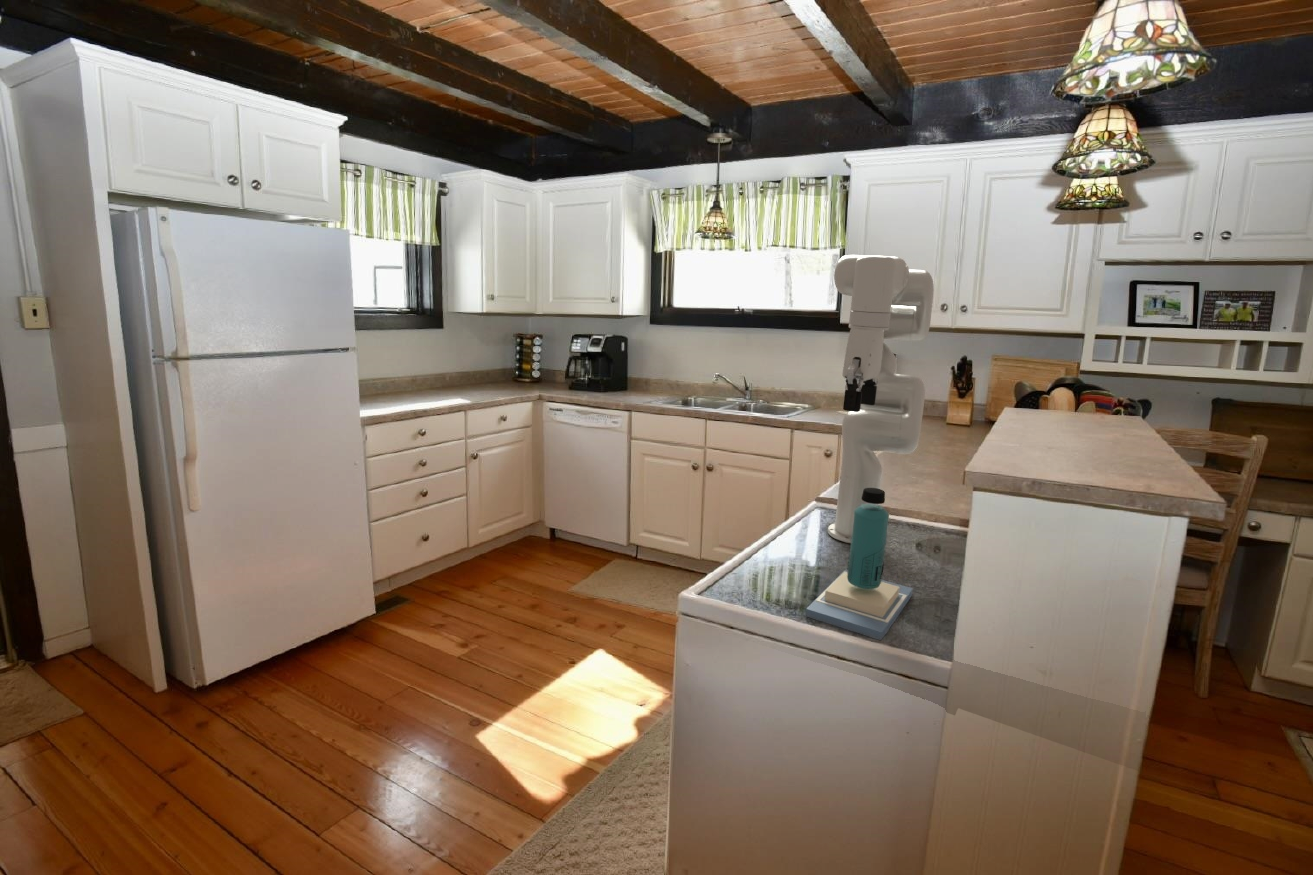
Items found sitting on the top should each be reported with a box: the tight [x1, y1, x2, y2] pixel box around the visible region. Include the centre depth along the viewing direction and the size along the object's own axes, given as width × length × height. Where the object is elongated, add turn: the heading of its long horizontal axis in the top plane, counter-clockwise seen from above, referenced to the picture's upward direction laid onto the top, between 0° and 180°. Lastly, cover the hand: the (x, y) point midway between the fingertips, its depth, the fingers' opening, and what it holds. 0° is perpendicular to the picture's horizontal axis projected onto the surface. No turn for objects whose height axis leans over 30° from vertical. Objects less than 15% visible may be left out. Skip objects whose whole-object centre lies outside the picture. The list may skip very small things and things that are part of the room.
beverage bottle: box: [846, 488, 890, 589], centre depth 131 cm, size 6×7×20 cm
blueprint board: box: [805, 569, 914, 641], centre depth 134 cm, size 22×14×4 cm, turn 147°
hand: (859, 407), depth 139 cm, fingers open, 9 cm apart
